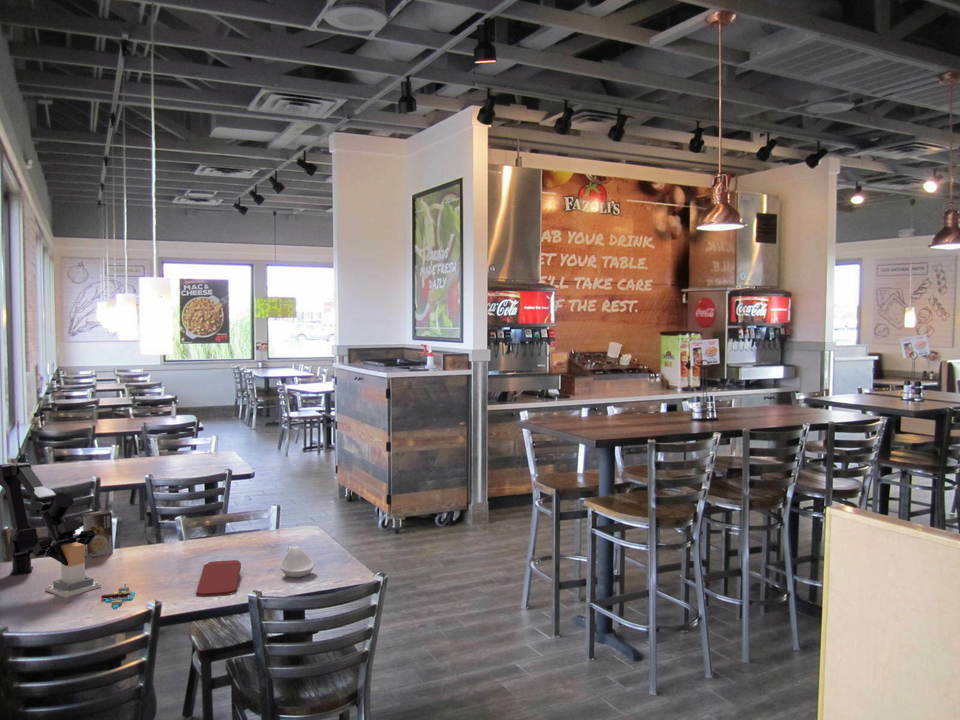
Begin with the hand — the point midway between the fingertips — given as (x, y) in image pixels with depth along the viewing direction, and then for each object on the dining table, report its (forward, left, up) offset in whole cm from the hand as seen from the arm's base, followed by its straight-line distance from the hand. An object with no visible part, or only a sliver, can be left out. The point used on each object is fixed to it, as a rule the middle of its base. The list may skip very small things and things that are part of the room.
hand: (75, 562), depth 245 cm
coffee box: (-41, +6, -9) cm, 43 cm away
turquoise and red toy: (+15, +13, -10) cm, 22 cm away
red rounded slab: (+13, +44, -10) cm, 47 cm away
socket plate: (-1, -1, -9) cm, 9 cm away
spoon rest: (+11, +70, -9) cm, 72 cm away
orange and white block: (-1, -1, -7) cm, 7 cm away
